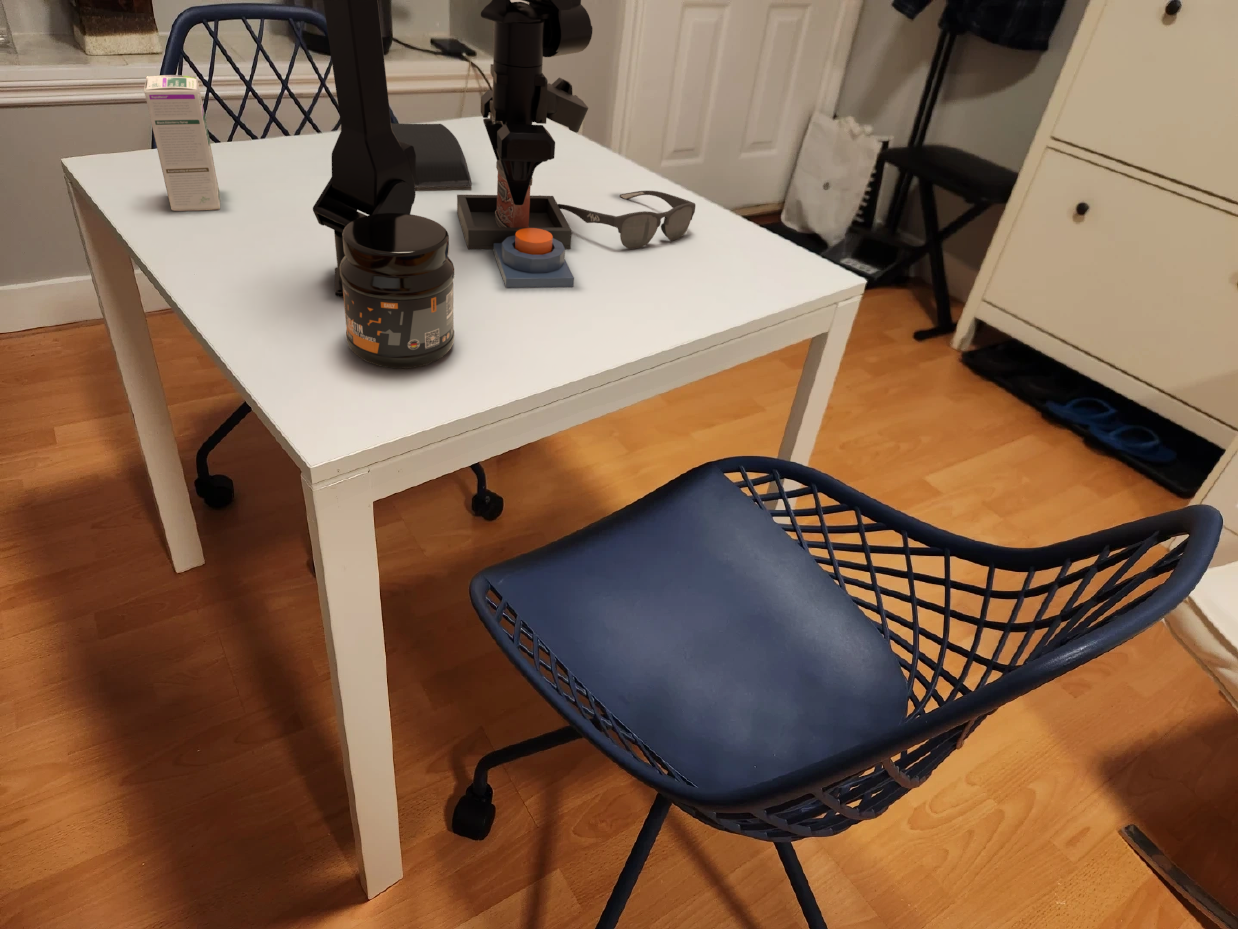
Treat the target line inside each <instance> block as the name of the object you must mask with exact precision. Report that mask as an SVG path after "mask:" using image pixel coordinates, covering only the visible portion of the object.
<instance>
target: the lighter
mask: <svg viewBox="0 0 1238 929" xmlns="http://www.w3.org/2000/svg"><path fill="white" fill-rule="evenodd" d="M495 168H496V171H497V180H496V181H497V182H496V184H497V185H496V186H497V187H496V188H497V189H496V195H497V210H496V211H495V220H496V223H497V224H498V226H499V227H518V228H529V207H530V196H531V186H533V177H532V178H531V181H530V184H529V188H528V191H527V194H526V197H525V200H524V203H523V205H515V204H514V202H513V199H512V196H511V193H510V190H509V187H508V184H507V181H506V178H505V175H504V172H503V168H502V165H501V163H500V160H497V159H496V164H495Z"/></svg>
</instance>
